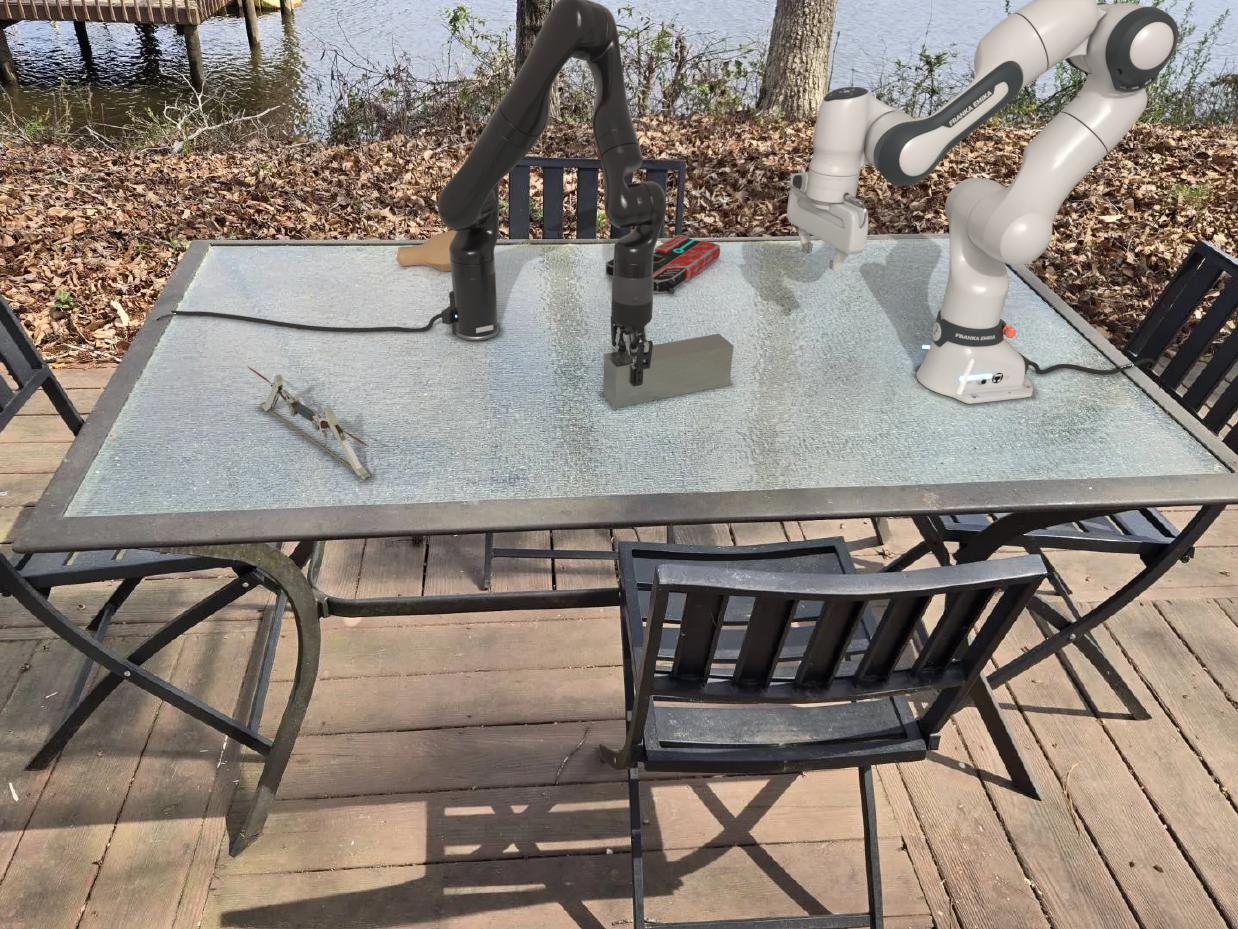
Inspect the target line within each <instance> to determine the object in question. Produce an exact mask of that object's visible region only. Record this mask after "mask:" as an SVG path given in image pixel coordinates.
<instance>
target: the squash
mask: <svg viewBox="0 0 1238 929" xmlns="http://www.w3.org/2000/svg"><path fill="white" fill-rule="evenodd" d="M456 232H457V230H453V229H450V230H447V231H444V232H442V233H441V232H440V233H436V234H433V235H432V236H431V237H429V238H428V239H427V241H425V242H424V243H422V244H420V245H411V246H399V247H398V250H397V253H396V261H397V263H398V264H399V265H400V266H401V267H407V266H416V265H418V266H419V265H422V266H427V267H431V268H433V269H435V270H438V271H440V272H442V273H443V272H451V264H450V253H449V246H450V243H451V242H452V240H453V238H454V237H455V235H456Z"/></svg>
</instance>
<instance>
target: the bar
mask: <svg viewBox="0 0 1238 929" xmlns="http://www.w3.org/2000/svg"><path fill="white" fill-rule="evenodd" d="M733 351H734V345H733V343H731V342H730V341H729V340H728V339H726V337H724V336H722V335H721V334H720V333H715V334H709V335H704V336H697V337H691V338H686V339H680V340H675V341H674V340H673V341H670V342H664V343H659V344H653V348H652V356H651V363H650V368H649V369H643V384H642V385H639V386H632V385H631V368H632V367H631V360H630V357H628V356H627V350H624V351H618V352H616V351H614V352H613V351H612V352H608V353H603V381H602V382H603V385H602V386H603V388H602V389H603V390H602V392H603V396H604V397H605V399H607V401H608V402H609V403H610V404H611V405H612V406H613V408H614V409H618V408H623V407H627V406H633V405H637V404H642V403H648V402H652V401H658V400H662V399H668V398H672V397H677V396H682V395H687V394H692V393H697V392H702V391H703V392H704V391H707V390H712V389H716V388H721V387H722V388H723V387H728V386H730V382H731V374H732V373H731V372H732V362H733V355H734V352H733ZM632 352H637V349H633V350H632ZM636 357H637V356H635V362H636Z"/></svg>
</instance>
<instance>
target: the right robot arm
mask: <svg viewBox="0 0 1238 929" xmlns="http://www.w3.org/2000/svg"><path fill="white" fill-rule="evenodd" d="M1178 42H1179V27H1178V24H1177V22H1176V21H1175V19H1174V18H1173V17H1172V16H1171V14H1169V13H1167V12H1166V11H1164V10H1162V9H1160V8H1158V7H1154V6H1145V5H1141V4H1137V3H1131V2H1122V3H1107V2H1097V0H1032V1H1030V2H1028V3H1027V4H1025V5H1023V6H1022V7H1020V8H1019V9H1017V10H1016V11H1014V12H1013V13H1011V14H1010V15H1008V16H1007V17H1006V18H1004V19H1003V20H1001V21H1000V22H998V23H997V24H996V25H995V26H994V27H992V29H990V30H989V31H988V32H987V33H986V34H985V35H984V36H983V37H982V38H981V39H980V40H979V42H978V45H977V46H976V49H975V52H974V59H973V66H974V67H973V68H974V73H975V75H974V77H973V79H972V81H971V82H970V83H969V85H968V86H966V87H965V88H964V89H963V90H962V91H960V92H959V93H958V94H956V95H955V96H954V97H952V98H951V99H950V100H949V101H947V102H946V103H944V104H943V105H942V106H941V107H940V108H939V109H937V110H936V111H935V112H933V113H932V114H931V115H928V116H925V117H922V118H913V117H912V116H911V115H909V114H908V113H906V112H905V111H903V110H901V109H899V108H897V107H894V106H892V105H889V104H887V103H885V102H883V101H881V100H880V99H878V98H876V97H875V96H874V95H873V94H872V93H871V92H870V91H869V90H868V89H867V88H865V87H862V86H861V87H860V86H844V87H840V88H836V89H833V90H832V91H830V92H828V93H827V94H826V95H825V96H824V97H823V99H822V100H821V103H820V105H819V109H818V111H817V112H818V113H817V116H816V120H815V125H814V130H813V131H814V132H813V137H812V138H813V139H812V147H813V149H812V150H813V153H812V158H811V161H810V162H809V166H808V171H802V172H795V173H792V174H791V175H790V180H789V183H790V186H791V187H790V189H789V193H788V198H787V200H788V201H787V206H786V208H787V209H786V217H787V221H788V223H789V224H791V225H794V226H795V227H797V228H798V231H797V233H798V238H799V242H800V246H799V251H800V252H801V253H803V254H804V255H809V254H812V252H813V247H814V244H813V243H812V242H811V236H813V237H816V238H817V239H819V240H820V241H822V242H824V243H826V244H828V245H830V246H832V247H833V248H834V249H835V251H834V253H835V254H836V255H835V257H834V258H833V259H829V265H828V269H830V270H831V271H833V272H834V273H835V272H841V271H842V270H843V263H844V261H845V260H846V259H847V257H849V256H850V255H856V254H860V253H863V251H864V250H865V249H866V247H867V242H868V234H869V214H868V209H867V207H866V204H865V202H864V201H863V200H862V199H860V198H858V197H857V192H858V187H859V181H860V180H859V179H860V175H861V169H862V167H864V166H872V167H873V168H875V170H877V171H878V172H879V174H880V175H881V176H882V177H883V178H884V180H886V181H887V182H888V183H890V184H892V185H894V186H899V187H907V186H913V185H916V184H918V183H920V182H922V181H923V180H925V179H926V178H927V177H929V175H931V173H933V172H934V170H935V169H936V168H937V167H938V166H939V164H940V163H941V162H942V160H943V159H944V158H945V156H947V154H948V153H949V152H950V151H951V150H952V149H954V148H955V147H956V146H957V145H958V144H959V143H961V142H962V141H963V140H964V139H966V138H967V137H968V136H970V135H971V134H972V133H973V132H975V131H976V130H977V129H978V128H980V127H981V126H982V125H984V124H985V123H986V122H988V121H990V119H991V118H993V117H994V116H995V115H996V114H998V113H999V112H1000V111H1001V110H1003V109H1004V108H1005V107H1006V106H1007V105H1008V104H1010V103H1011V101H1012V100H1013V99H1014V98H1016V96H1017V95H1018V94H1019V92H1021V91H1022V90H1023V89H1024V88H1025V87H1026V86H1028V85H1029V84H1030V83H1032V82H1034V81H1035V80H1036V79H1038V78H1039V77H1041V76H1043V75H1044V74H1045V73H1047V72H1048V71H1049V70H1051V69H1052V68H1053V67H1055V66H1056V65H1058V64H1059V63H1061V62H1063V61H1065V62H1066V63H1067V64H1068V65H1069V66H1071V67H1072V68H1074V69H1076V70H1077V71H1082V72H1086V73H1087V76H1086V80H1085V82H1084V84H1083V86H1082V88H1081V89H1080V91H1079V92H1078V94H1076V97H1074V98H1073V99H1072V100H1071V101H1070V102H1068V104H1067V105H1066V106H1064V108H1062V109H1061V111H1059V113H1058V114H1056V115H1055V116H1054V117H1053V118H1052V120H1050V122H1048V123H1047V125H1046V126H1045V127H1044V128H1043V129H1041V131H1040V132H1039V133H1038V134H1037V135H1036V136H1034V138H1033V139H1032V140H1031V141H1030V142H1029V143H1028V144H1027V145H1026V146H1025V148H1024V150H1023V152H1022V164H1021V166H1020V168H1019V170H1018V172H1017V174H1016V176H1015V177H1014V179H1013V181H1012V182H1011V183H1010V184H1009V185H1008V186H1004V185H1003V184H1001V183H999V182H998V181H996V180H992V179H987V178H983V177H982V178H981V177H970V178H966V179H964V180H962V181H959V182H958V183H957V184H956V185H955V186H953V188H952V189H951V190H950V191H949V193H948V195H947V197H946V199H945V204H944V212H945V216H946V220H947V223H948V229H949V230H948V232H949V236H948V237H949V266H948V267H949V268H948V276H947V283H946V285H945V289H944V290H945V291H944V295H943V298H942V303H941V308H940V309H939V310H938V312H937V315H936V317H935V318H936V319H935V322H934V324H933V329H932V335H931V342H930V345H929V344H927V345H926V344H922V346H921V348H922V349H927V353H926V355H925V356H924V359H923V361H922V363H921V364H920V367H919V368H918V369H917V372H916V374H915V375H916V376H915V377H916V379H917V381H918V383H920V384H921V385H922V386H924V387H925V388H926V389H928V390H931V391H932V392H935V393H937V394H940V395H943V396H947V397H950V398H953V399H956V400H957V401H960V402H962V403H965V404H968V405H973V404H981V403H989V402H1000V401H1007V400H1017V399H1024V398H1025V399H1026V398H1031V397H1032V396H1033V393H1034V386H1033V384H1032V382H1031V381H1030V379H1029V378H1028V377H1027V376H1026V375H1027V372H1028V370H1029V366H1031V367H1032V368H1034V371H1035V373H1037V374H1039V375H1046V374H1049V373H1052V372H1054V371H1055V370H1059V369H1071V370H1076V371H1081V372H1085V373H1089V374H1093V375H1094V374H1095V375H1113V374H1117V373H1119V372H1122V371H1125V370H1128V369H1132V368H1133V367H1132V365H1131V366H1126V367H1123V368H1121V369H1117V368H1119V367H1120V366H1119V367H1116V368H1113V369H1097V368H1091V367H1086V366H1083V365H1078V364H1074V363H1073V364H1072V363H1059V364H1055V365H1052V366H1050V367H1048V368H1045V369H1041V368H1040V366H1039V364H1038V363H1036V362H1035V361H1033V360H1030V359H1029V358H1028V357H1026V356H1024V355H1023V354H1022V353H1021V352H1020V351H1018V350H1017V349H1016V348H1015V347H1014V346H1013V345H1012V344H1011V343H1010V342H1009V341H1008V340H1007V339H1014V337H1016V335H1017V330H1016V328H1014V327H1013V326H1012V325H1009V324H1008V325H1007V322H1006V321H1005V320H1003V319H1002V318H1001V317H1002V314H1003V311H1004V307H1005V303H1006V301H1007V297H1008V293H1009V290H1010V277H1009V273H1008V271H1007V264H1009V265H1012V266H1025V265H1028V264H1030V263H1032V262H1034V261H1036V260H1037V259H1038V258H1040V256H1042V255H1043V254H1044V252H1046V250H1047V249H1048V247H1049V245H1050V243H1051V240H1052V238H1053V224H1054V220H1055V218H1056V216H1057V213H1058V212H1059V210H1060V208H1061V206H1062V205H1063V203H1064V202H1065V200H1066V198H1067V197H1068V196H1069V194H1070V193H1071V192H1072V190H1074V188H1076V186H1077V185H1078V184H1079V183H1080V182H1081V181H1082V180H1083V179H1084V178H1085V177H1086V176H1087V175H1088V174H1089V173H1090V172H1091V171H1092V170H1093V169H1094V168H1095V167H1096V166H1097V165H1098V164H1099V163H1100V162H1101V161H1102V160H1103V159H1104V158H1105V157H1106V156H1107V155H1108V154H1109V153H1110V152H1111V151H1112V150H1113V149H1114V148H1115V147H1116V146H1117V145H1118V144H1119V143H1120V142H1121V141H1122V140H1123V138H1124V137H1125V136H1126V135H1127V133H1128V132H1129V131H1130V130H1131V128H1133V126H1134V125H1135V124H1136V122H1138V120H1139V118H1140V117H1141V116H1142V114H1143V113H1144V111H1145V110H1146V108H1147V105H1148V93H1147V91H1146V88H1147V87H1149V86H1150V85H1152V84H1153V83H1154V82H1156V80H1157V79H1158V76H1159V74H1160V73H1161V72H1162V70H1163V69H1164V68H1165V67H1166V66H1167V65H1168V63H1169V61H1170V60H1171V58H1172V56H1173V54H1174V52H1175V51H1176V47H1177V46H1178V45H1177V44H1178ZM1004 336H1005V337H1006V338H1007V339H1005V338H1004ZM1132 363H1133V364H1134V366H1135V367H1137V366H1140V365H1142V364H1146V363H1149V364H1150V366H1154V367H1155V366H1157V362H1156V360H1154V359H1153V358H1149V357H1148V358H1141V359H1138V360H1136V361H1133V362H1132ZM1131 367H1132V368H1131Z"/></svg>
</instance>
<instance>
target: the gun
mask: <svg viewBox="0 0 1238 929" xmlns="http://www.w3.org/2000/svg"><path fill="white" fill-rule="evenodd" d="M720 254H721V245H720V244H717V243H715V242H710V241H707V240H702V241H701V240H698V239H693V238H689V236H688V235H683V234H676V235H675V236H673V237H671V238H670V239H668V240H666V241H665V242H662V244H659V245H657V246H655V249H654V257H653V283H654V287H653V294H657V295H658V294H663V293H668V294H671V295H674V294H675V289H676V288H678V287H680V285H682V284H683V283H684V282H689V281H690V280H691V279H693V278H695V277H696V276H698V275H699V274H700V273H701V272H703V271H705V269H707V268H708V267H709V266H710V265H712V264H713V263H714V262H716V261H717V260H719V257H720ZM613 272H614V258H612V259H610V260H608V261H606V262H605V276H607V277H609V278H611V279H613Z"/></svg>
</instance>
